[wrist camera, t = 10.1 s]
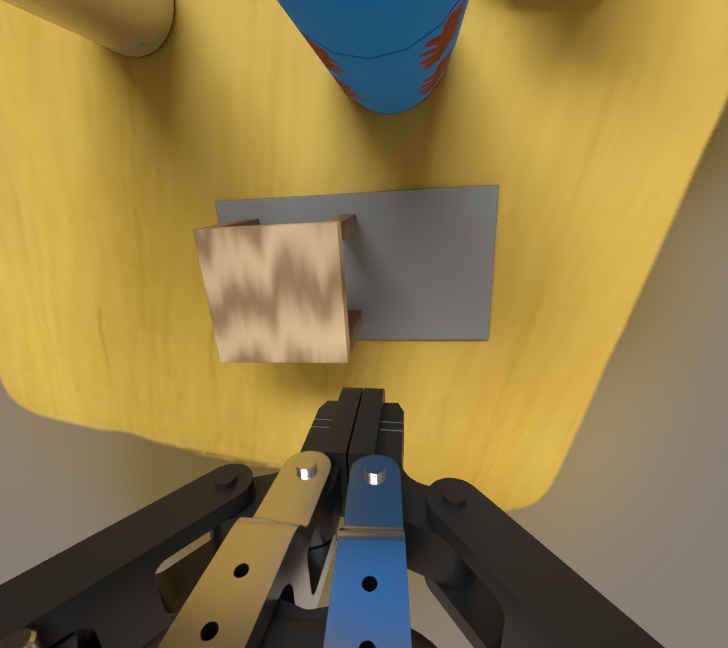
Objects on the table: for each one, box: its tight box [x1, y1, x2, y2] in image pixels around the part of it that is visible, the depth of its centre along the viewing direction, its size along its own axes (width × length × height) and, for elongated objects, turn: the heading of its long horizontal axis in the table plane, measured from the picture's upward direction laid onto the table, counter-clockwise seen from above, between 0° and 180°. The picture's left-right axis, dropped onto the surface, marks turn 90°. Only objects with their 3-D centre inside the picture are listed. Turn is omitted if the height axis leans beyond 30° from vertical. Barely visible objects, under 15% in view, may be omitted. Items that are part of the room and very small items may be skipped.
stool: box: [193, 214, 362, 363], centre depth 36 cm, size 12×10×12 cm
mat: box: [215, 185, 499, 340], centre depth 40 cm, size 16×29×1 cm, turn 93°
